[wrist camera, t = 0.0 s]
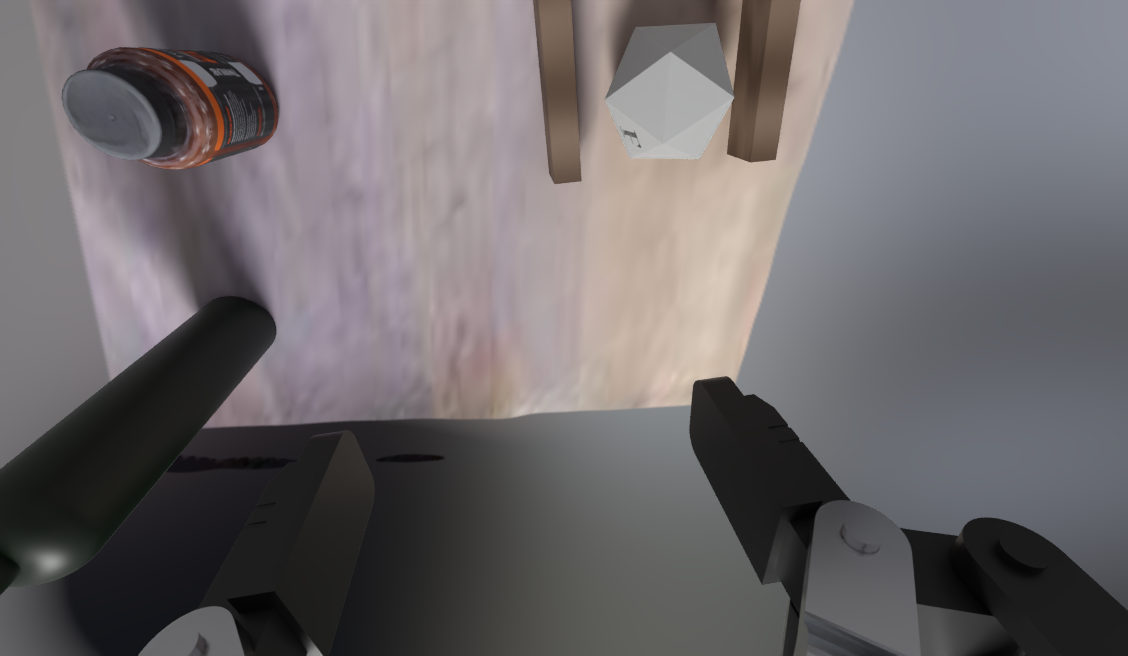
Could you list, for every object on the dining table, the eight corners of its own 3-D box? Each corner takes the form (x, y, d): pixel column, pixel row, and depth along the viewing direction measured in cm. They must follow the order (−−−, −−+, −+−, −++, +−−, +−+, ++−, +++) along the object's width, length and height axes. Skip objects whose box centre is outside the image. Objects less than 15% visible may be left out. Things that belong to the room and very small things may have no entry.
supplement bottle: (249, 41, 29) (125, 26, 20) (298, 135, 32) (212, 163, 23) (163, 66, 29) (-3, 63, 20) (221, 158, 32) (101, 194, 23)
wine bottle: (287, 318, 39) (-119, 789, 13) (261, 362, 41) (-138, 851, 15) (216, 283, 37) (-434, 772, 11) (193, 332, 39) (-413, 848, 13)
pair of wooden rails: (532, -11, 30) (536, -22, 26) (773, -31, 31) (807, -43, 27) (549, 173, 36) (554, 184, 32) (750, 151, 37) (775, 159, 34)
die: (600, 21, 32) (577, 109, 27) (726, -32, 28) (722, 61, 23) (636, 117, 38) (621, 201, 34) (743, 85, 34) (743, 176, 30)
